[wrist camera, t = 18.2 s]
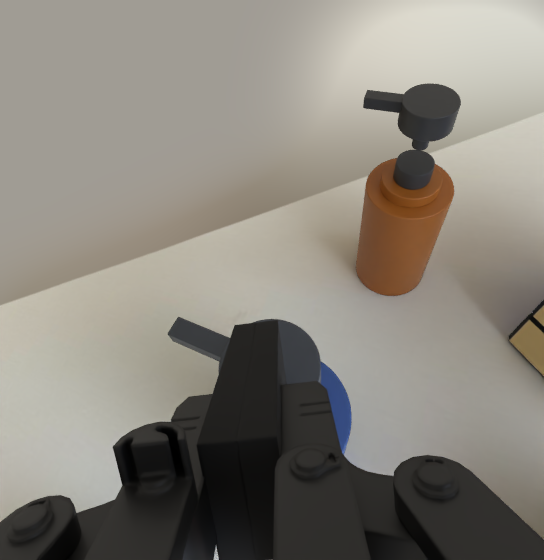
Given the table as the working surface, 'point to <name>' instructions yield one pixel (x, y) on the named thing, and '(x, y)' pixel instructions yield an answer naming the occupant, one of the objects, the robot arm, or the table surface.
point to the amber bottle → (401, 221)
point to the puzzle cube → (531, 338)
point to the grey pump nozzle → (294, 341)
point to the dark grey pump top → (419, 111)
